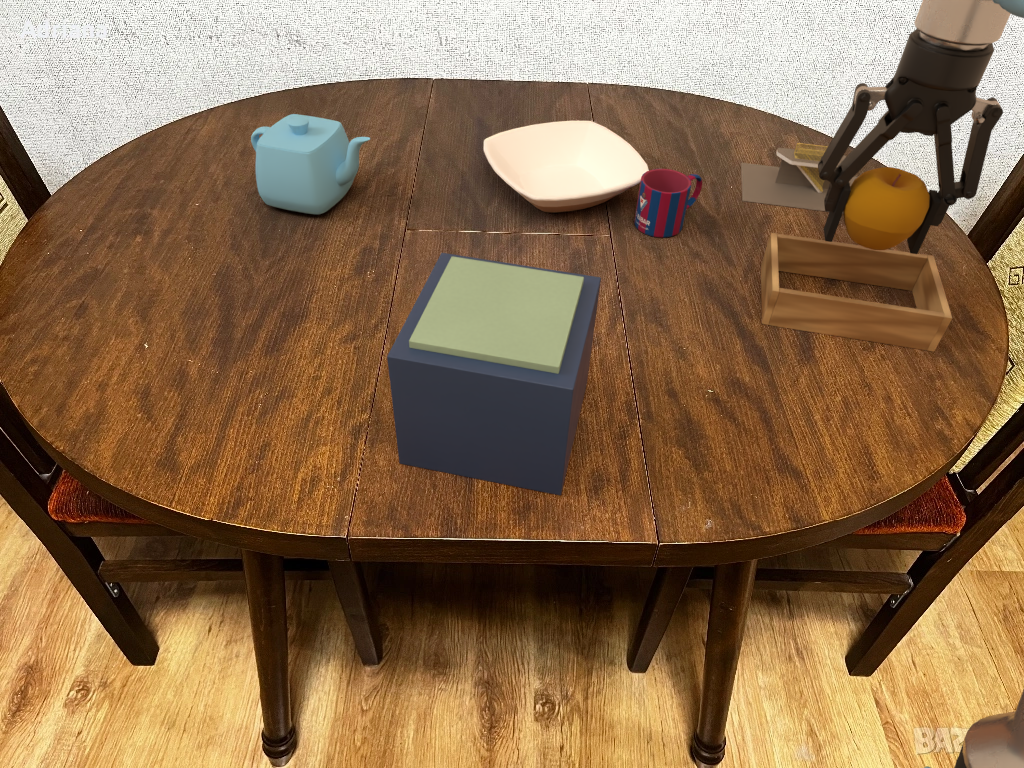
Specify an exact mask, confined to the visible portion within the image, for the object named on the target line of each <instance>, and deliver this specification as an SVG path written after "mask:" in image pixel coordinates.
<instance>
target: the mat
mask: <svg viewBox="0 0 1024 768" xmlns="http://www.w3.org/2000/svg"><path fill="white" fill-rule="evenodd" d="M583 282H584V277H580V276H574V275H567V274H561V273H555V272H548V271H542V270H536V269H529V268H523V267H516V266H510V265H504V264H497V263H491V262H484V261H478V260H472V259H465V258H459V257H451V259H450V261H449V263H448V265H447V267H446V269H445V271H444V273H443V275H442V277H441V279H440V281H439V282H438V284H437V286H436V288H435V290H434V292H433V294H432V296H431V298H430V300H429V302H428V304H427V306H426V308H425V310H424V312H423V314H422V316H421V318H420V320H419V322H418V324H417V326H416V328H415V330H414V332H413V334H412V336H411V338H410V340H409V347H410V348H414V349H420V350H425V351H431V352H437V353H443V354H448V355H454V356H460V357H465V358H471V359H477V360H482V361H488V362H494V363H499V364H505V365H511V366H517V367H522V368H528V369H534V370H539V371H545V372H551V373H556V374H559V371H560V367H561V364H562V360H563V356H564V353H565V349H566V345H567V342H568V338H569V334H570V331H571V327H572V323H573V320H574V316H575V312H576V309H577V305H578V301H579V298H580V294H581V290H582V287H583Z"/></svg>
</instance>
